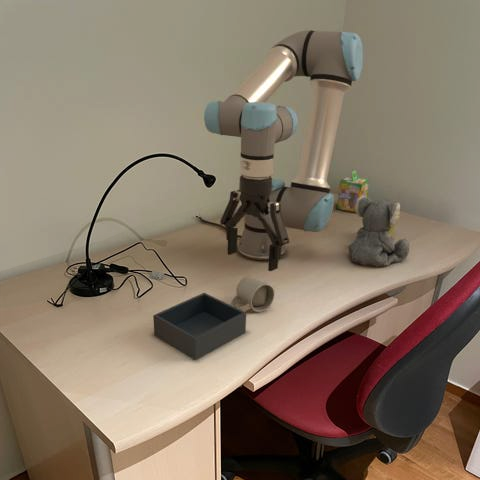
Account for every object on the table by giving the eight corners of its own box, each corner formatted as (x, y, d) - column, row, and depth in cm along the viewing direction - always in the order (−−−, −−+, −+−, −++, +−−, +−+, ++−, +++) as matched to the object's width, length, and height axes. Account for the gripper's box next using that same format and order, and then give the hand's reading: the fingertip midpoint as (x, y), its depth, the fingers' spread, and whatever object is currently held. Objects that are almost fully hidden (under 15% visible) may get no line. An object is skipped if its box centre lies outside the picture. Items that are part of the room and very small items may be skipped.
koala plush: (411, 259, 166) (423, 199, 156) (379, 275, 155) (390, 212, 145) (365, 243, 177) (375, 186, 167) (333, 257, 166) (341, 197, 156)
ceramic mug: (256, 295, 142) (256, 269, 138) (274, 307, 136) (275, 281, 132) (223, 306, 137) (223, 279, 133) (241, 319, 131) (242, 292, 127)
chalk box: (357, 213, 203) (363, 175, 196) (336, 209, 207) (340, 172, 200) (365, 207, 210) (371, 170, 203) (344, 203, 214) (349, 167, 207)
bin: (154, 335, 123) (153, 315, 120) (204, 311, 133) (204, 292, 131) (195, 360, 115) (195, 339, 112) (245, 332, 125) (246, 312, 122)
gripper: (206, 167, 123) (206, 250, 134) (288, 190, 109) (281, 281, 120) (228, 163, 128) (226, 243, 139) (309, 184, 114) (301, 272, 124)
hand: (251, 261), depth 129 cm, fingers open, 13 cm apart
